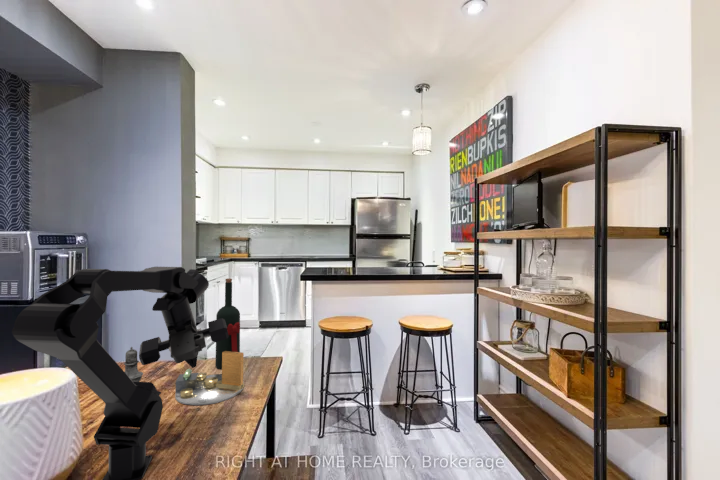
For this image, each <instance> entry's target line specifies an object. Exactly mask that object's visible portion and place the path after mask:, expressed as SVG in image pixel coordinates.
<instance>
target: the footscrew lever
mask: <svg viewBox="0 0 720 480" xmlns="http://www.w3.org/2000/svg"><path fill="white" fill-rule="evenodd" d="M244 355H245V354H244V352H241V351H240V352H231V351H224V352H222V369H221V374H222V380H220V381H219V382H218V378H216V377H210V378H207V379H205V380H204V387H206V388H210V387H214V386H216V387H218V388H226V389H234V390H241V389H242V388H243V389H244V387H245V382H244V383H243V381H244Z"/></svg>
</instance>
